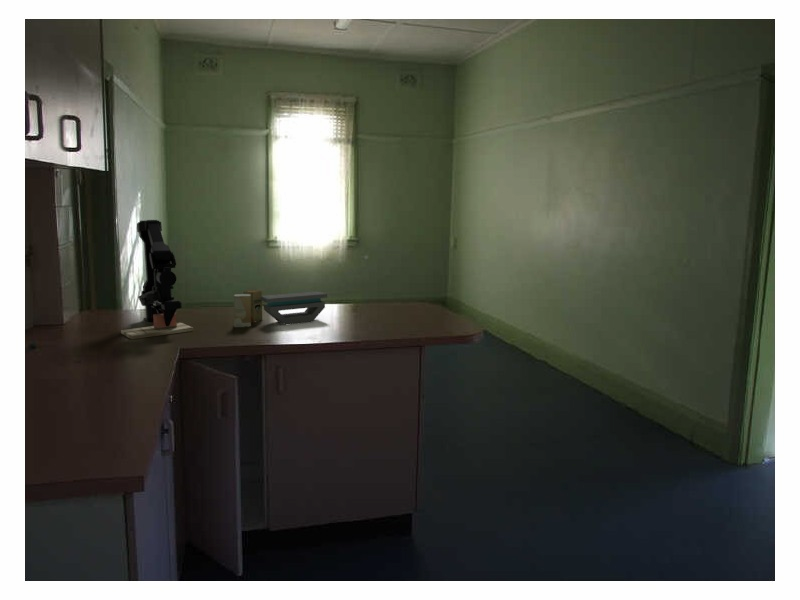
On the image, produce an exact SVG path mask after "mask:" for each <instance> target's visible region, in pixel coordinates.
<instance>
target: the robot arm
mask: <svg viewBox="0 0 800 600" xmlns="http://www.w3.org/2000/svg"><path fill="white" fill-rule="evenodd" d="M162 227H163V226H162V221H160V220H159V219H147V220H139V222H137V223H136V230H137V233H138V235H139V236H138V237H139V238H140V240H141V241H142V242H143V245H144V261H145V262H144V263H145V277H146V279H145V282H144V284H143V285H142V290H141V294H140V295H138V296H137V298H138V299H139V301H140V304H141V306H142V307H145V316H146V317H143V320H145V321H147V322H154V321H153V314H161V313H163V315H164V320H165V324H166V326H169V325H170V323H171V320H172V318H173V316H174V314H175V313H176V311H177V310H179V309H182V308H183V307H182V306H183V305H182V302H181V301H180V300H177V299H175V297H174V296H173V293H172V292H173V291H172V290H173V289H174V285H175V284H176V282H177V275H176V274H175V272H174V271H172V269H176V266H177V261H176V258H175V254H174V253H173V251H171V248H170V246H169V245H168V244H166V243H165V241H164V237H163V235H162V231H163V228H162Z"/></svg>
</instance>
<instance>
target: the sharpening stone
mask: <svg viewBox="0 0 800 600" xmlns="http://www.w3.org/2000/svg"><path fill="white" fill-rule="evenodd" d="M325 298H326V299H327V298H328V293H326V292H322V291H319V290H318V291H306V292H293V293H282V294H281V293H280V294H270V295H262V296H261V300H262V302H264V303H263V310H264V311H265V312H266V313H268V315H269V316H271V317H272V318H273V319H274V320H276V322H278V323H280V324H282V325H284V326H287V325H286V324H290V325H297V324H298V323H299V324H307V323H313V322H314V321H315V319H317V317H318V316H320V315H321V313H322V311H323V310H324V309H325V308H326V301H322V300H321V299H325ZM299 309H305V311H302V312H293V313H281V312H280V311H289V310H299Z"/></svg>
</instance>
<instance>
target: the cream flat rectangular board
mask: <svg viewBox="0 0 800 600" xmlns="http://www.w3.org/2000/svg"><path fill="white" fill-rule="evenodd" d="M193 331H194V327H193V326H190V325H188V324H185V323H184V322H177V327H173V328H165V329H156V328H154V325H151V326H143V327H133V328H128V329H127V328H126V329H121V330H120V333H121V335H123V336H125V337H126V338H129V339H130V340H136V339H144V338H151V337H157V336H164V335H174V334H180V333H187V332H193Z"/></svg>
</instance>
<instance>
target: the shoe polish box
mask: <svg viewBox="0 0 800 600" xmlns="http://www.w3.org/2000/svg"><path fill="white" fill-rule="evenodd" d="M262 292H263V291H262V290H256V289H255V290H254V289H250V290H244V291H243V294H250V295H251V321H252V322H251V323H256V322H255V321H258V322H260V321H259V320H262V321H263V301H262V300H261V296H263V295H262V294H263V293H262Z"/></svg>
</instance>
